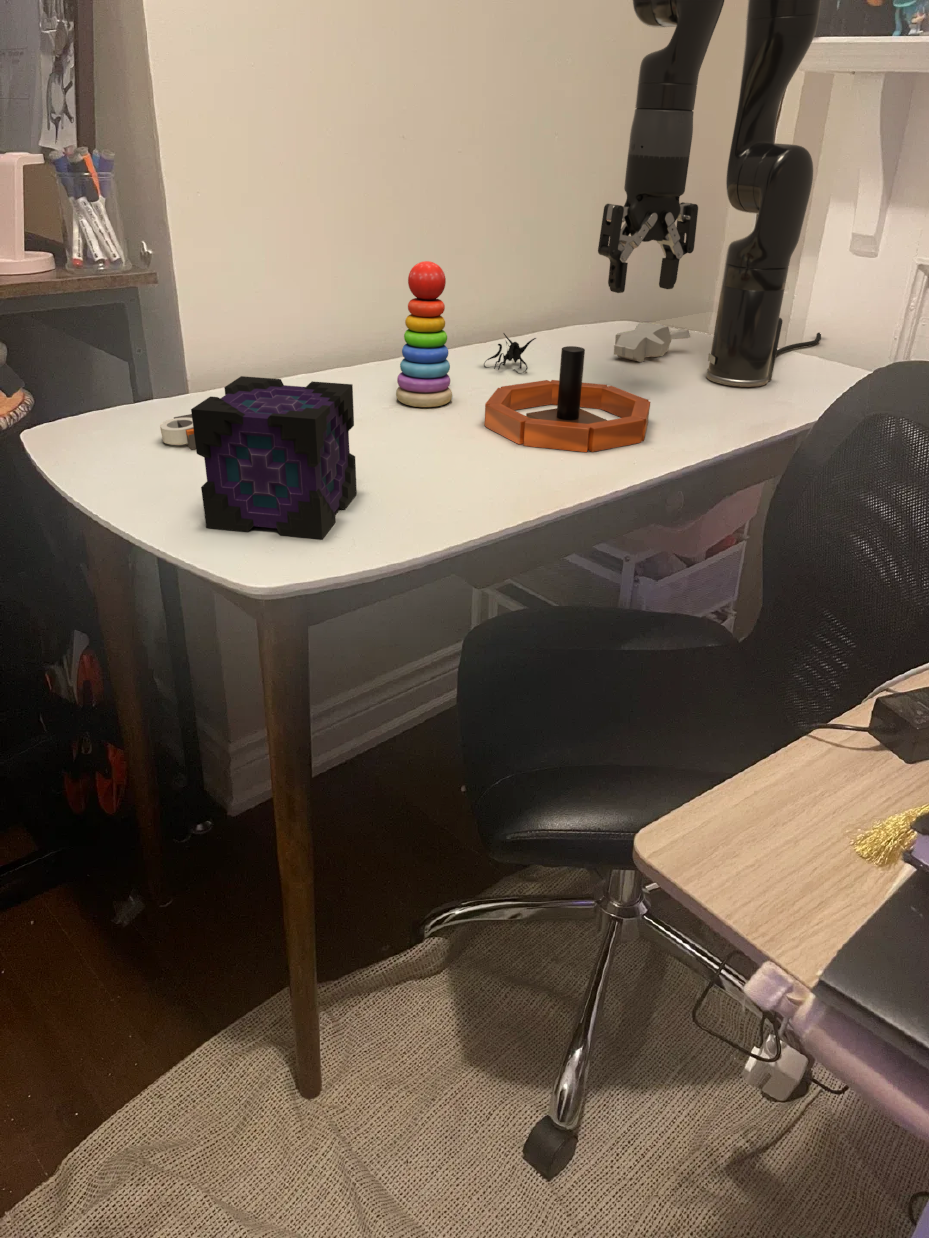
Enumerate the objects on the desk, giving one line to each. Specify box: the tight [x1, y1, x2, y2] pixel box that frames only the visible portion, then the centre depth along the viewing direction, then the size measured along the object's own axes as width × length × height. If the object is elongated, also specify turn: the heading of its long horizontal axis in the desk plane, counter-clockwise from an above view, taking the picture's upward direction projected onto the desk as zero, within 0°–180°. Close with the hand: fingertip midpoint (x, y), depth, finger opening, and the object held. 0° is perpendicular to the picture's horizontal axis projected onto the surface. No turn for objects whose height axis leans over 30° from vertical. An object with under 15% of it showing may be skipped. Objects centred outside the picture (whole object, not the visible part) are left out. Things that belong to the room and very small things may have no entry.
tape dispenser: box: [159, 413, 196, 451], centre depth 113 cm, size 7×3×15 cm
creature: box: [483, 332, 537, 375], centre depth 145 cm, size 8×5×8 cm
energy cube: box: [190, 375, 358, 540], centre depth 91 cm, size 12×12×12 cm
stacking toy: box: [395, 260, 453, 408], centre depth 124 cm, size 8×8×19 cm
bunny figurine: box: [613, 321, 691, 363], centre depth 155 cm, size 10×5×15 cm
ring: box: [484, 379, 651, 453], centre depth 121 cm, size 21×21×3 cm
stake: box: [525, 345, 609, 424], centre depth 119 cm, size 8×8×10 cm
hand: (641, 290), depth 119 cm, fingers open, 8 cm apart
